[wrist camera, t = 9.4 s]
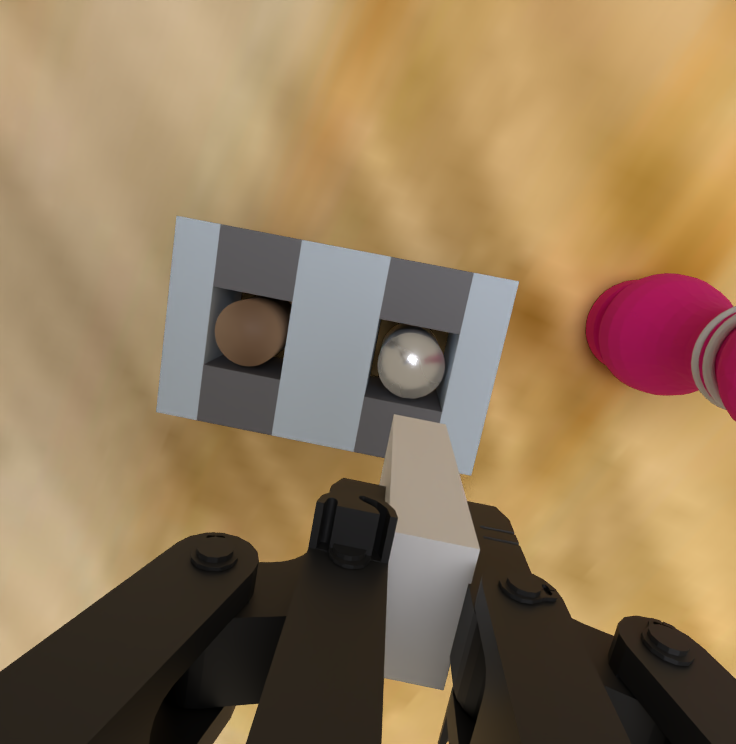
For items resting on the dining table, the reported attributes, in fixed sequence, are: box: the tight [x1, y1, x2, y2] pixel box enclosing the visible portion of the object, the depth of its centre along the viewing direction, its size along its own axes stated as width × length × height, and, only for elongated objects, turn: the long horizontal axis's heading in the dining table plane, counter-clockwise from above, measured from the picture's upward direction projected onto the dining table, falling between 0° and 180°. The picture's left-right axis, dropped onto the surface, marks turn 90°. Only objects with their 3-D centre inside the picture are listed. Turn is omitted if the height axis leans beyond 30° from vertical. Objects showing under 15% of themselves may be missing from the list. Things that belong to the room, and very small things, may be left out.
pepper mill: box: [586, 273, 736, 421], centre depth 26 cm, size 7×7×20 cm
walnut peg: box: [215, 296, 292, 366], centre depth 34 cm, size 4×4×6 cm
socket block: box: [156, 216, 519, 475], centre depth 34 cm, size 20×12×6 cm, turn 79°
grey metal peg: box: [378, 323, 445, 399], centre depth 34 cm, size 4×4×6 cm
